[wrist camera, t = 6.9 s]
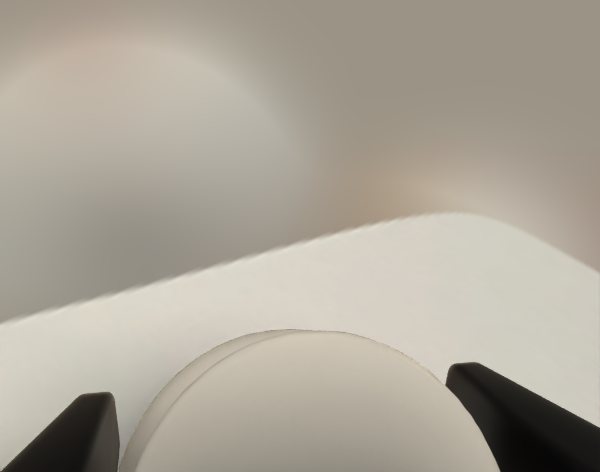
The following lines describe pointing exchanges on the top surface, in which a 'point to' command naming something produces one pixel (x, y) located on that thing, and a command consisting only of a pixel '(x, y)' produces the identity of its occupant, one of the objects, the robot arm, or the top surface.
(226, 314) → the top surface
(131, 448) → the pill bottle
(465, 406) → the robot arm
